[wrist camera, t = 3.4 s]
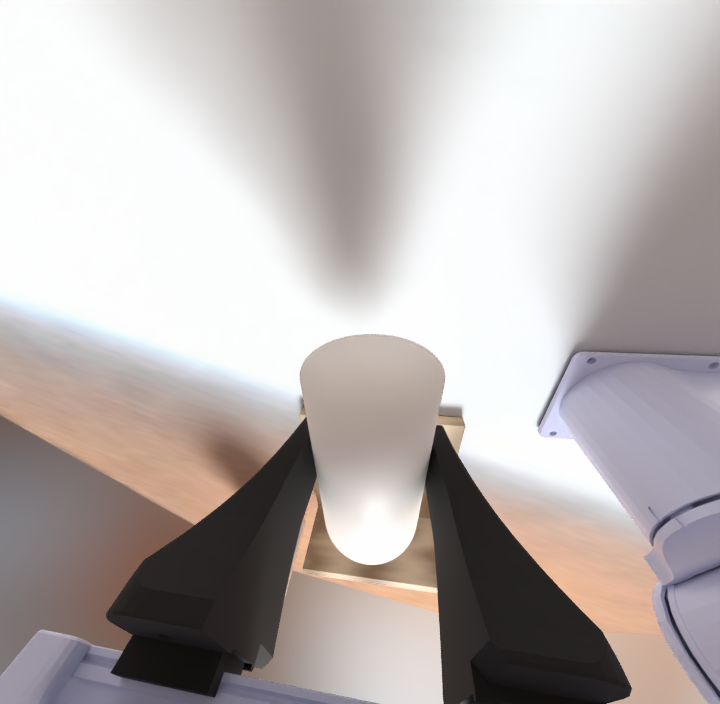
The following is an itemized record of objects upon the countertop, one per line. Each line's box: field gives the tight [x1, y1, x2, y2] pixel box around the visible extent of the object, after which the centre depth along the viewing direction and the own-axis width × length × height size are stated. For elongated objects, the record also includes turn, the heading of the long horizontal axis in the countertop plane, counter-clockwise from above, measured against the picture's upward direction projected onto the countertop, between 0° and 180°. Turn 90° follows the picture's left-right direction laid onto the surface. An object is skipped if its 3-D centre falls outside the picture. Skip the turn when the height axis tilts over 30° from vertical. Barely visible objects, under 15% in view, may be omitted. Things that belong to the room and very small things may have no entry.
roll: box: [300, 334, 445, 565], centre depth 11 cm, size 5×9×5 cm, turn 1°
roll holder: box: [300, 407, 465, 593], centre depth 24 cm, size 14×16×7 cm
